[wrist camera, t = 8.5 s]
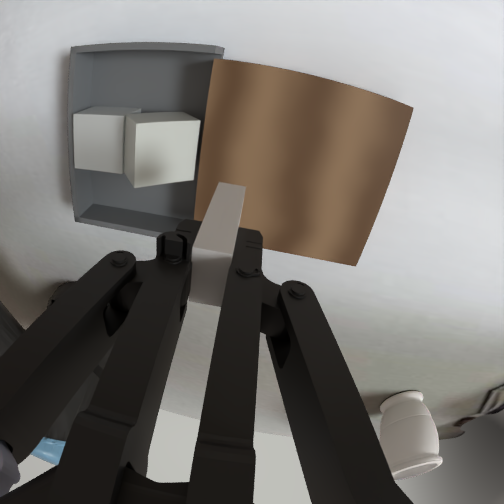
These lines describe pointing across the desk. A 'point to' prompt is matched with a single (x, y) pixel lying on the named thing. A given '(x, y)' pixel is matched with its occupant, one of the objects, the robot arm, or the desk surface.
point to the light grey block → (100, 138)
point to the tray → (149, 100)
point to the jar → (408, 436)
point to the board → (300, 156)
